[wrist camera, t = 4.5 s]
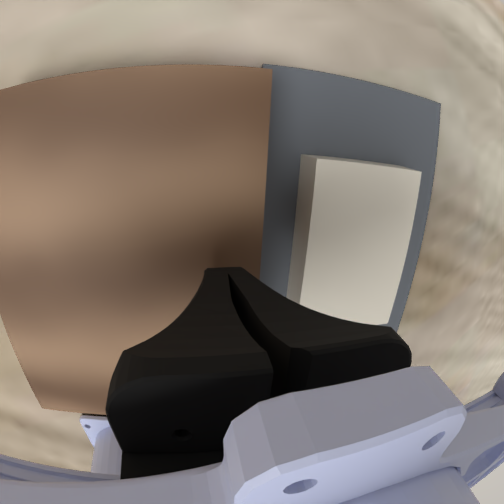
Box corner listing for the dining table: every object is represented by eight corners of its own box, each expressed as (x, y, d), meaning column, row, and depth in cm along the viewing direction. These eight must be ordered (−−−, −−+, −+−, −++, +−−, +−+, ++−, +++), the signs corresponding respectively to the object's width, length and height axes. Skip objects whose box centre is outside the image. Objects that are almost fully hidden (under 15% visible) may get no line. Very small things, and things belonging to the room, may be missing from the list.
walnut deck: (237, 363, 19) (249, 410, 16) (58, 364, 17) (42, 408, 13) (250, 83, 13) (272, 69, 10) (14, 101, 11) (-30, 99, 7)
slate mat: (386, 352, 22) (388, 354, 22) (245, 374, 20) (245, 377, 19) (437, 103, 15) (440, 103, 15) (262, 64, 13) (263, 63, 13)
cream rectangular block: (294, 335, 16) (284, 315, 18) (387, 323, 17) (372, 306, 19) (316, 158, 13) (300, 154, 15) (421, 171, 14) (399, 165, 16)
